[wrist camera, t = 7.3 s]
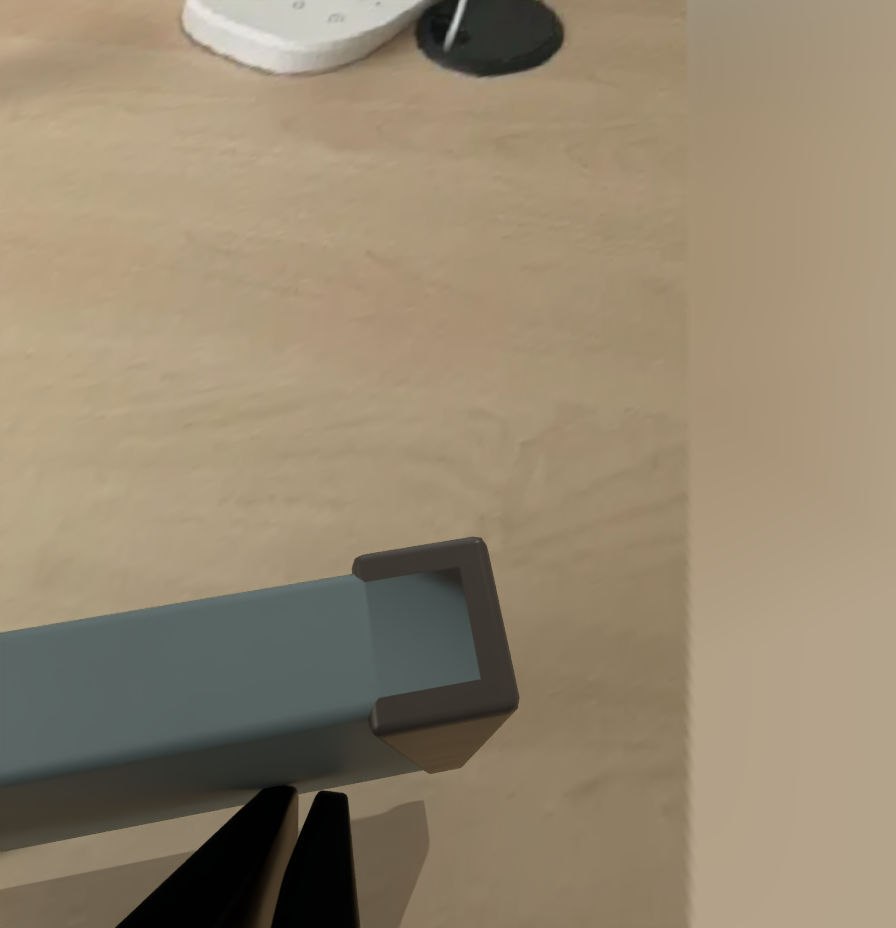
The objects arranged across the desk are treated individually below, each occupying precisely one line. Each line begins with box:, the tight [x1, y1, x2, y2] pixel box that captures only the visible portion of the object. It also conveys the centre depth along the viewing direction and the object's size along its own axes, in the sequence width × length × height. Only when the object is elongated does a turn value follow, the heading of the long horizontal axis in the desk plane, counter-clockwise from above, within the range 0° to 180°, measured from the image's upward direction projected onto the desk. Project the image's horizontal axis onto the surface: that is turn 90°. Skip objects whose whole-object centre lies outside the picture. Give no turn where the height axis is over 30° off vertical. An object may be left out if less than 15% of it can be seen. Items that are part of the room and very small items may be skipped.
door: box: [0, 537, 519, 852], centre depth 8 cm, size 1×10×12 cm, turn 100°
